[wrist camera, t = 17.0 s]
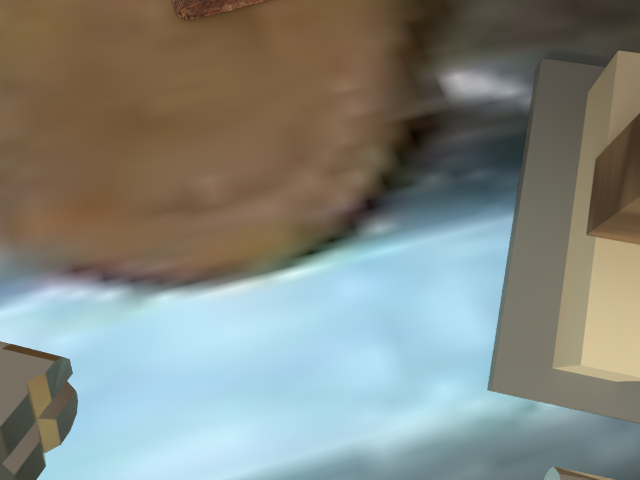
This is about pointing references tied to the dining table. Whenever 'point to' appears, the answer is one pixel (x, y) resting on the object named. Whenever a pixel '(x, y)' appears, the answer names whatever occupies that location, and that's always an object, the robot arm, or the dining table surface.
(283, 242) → the dining table surface
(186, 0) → the wooden tablet
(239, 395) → the dining table surface
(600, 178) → the walnut pillar
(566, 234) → the stand
